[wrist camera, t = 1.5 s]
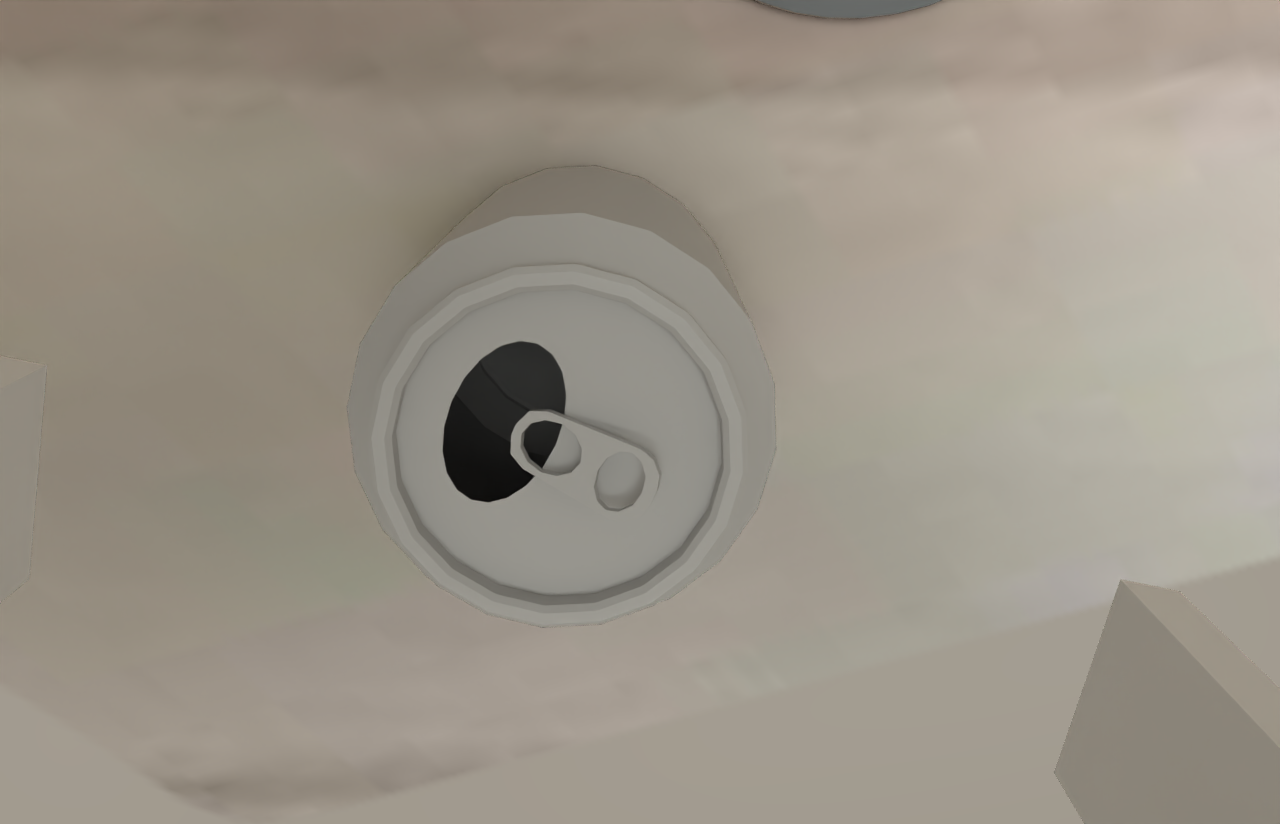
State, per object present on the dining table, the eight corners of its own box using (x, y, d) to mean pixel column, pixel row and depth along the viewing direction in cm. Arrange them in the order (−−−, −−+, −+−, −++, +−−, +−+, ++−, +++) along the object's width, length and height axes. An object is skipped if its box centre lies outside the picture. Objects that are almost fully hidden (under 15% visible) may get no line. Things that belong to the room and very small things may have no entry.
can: (501, 112, 30) (423, 144, 18) (779, 236, 31) (870, 342, 19) (392, 384, 32) (259, 570, 20) (657, 494, 33) (674, 731, 21)
